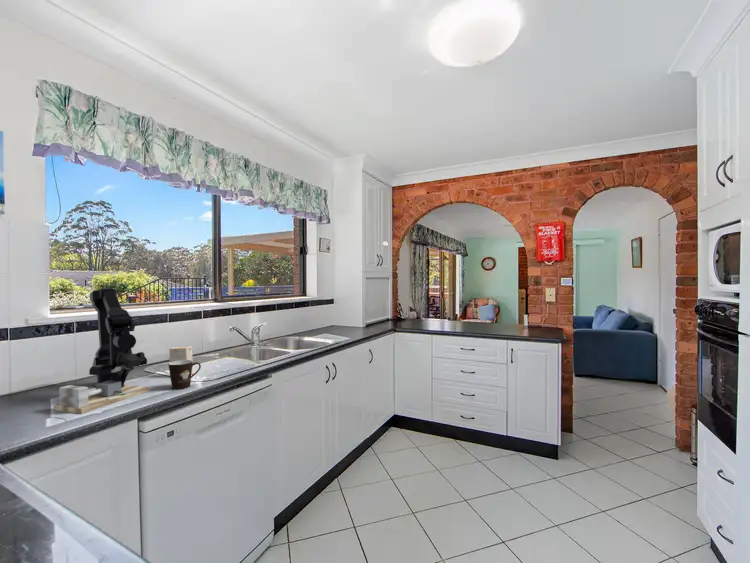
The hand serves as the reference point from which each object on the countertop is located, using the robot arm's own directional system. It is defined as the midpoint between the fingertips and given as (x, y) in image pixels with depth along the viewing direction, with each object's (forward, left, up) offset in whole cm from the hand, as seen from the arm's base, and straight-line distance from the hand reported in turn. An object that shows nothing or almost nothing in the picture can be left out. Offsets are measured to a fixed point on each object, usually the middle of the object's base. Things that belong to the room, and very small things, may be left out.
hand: (120, 388), depth 139 cm
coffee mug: (+16, +15, -3) cm, 22 cm away
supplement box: (+1, +28, -3) cm, 28 cm away
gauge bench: (0, -6, -2) cm, 6 cm away
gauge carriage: (+2, -8, -1) cm, 8 cm away
